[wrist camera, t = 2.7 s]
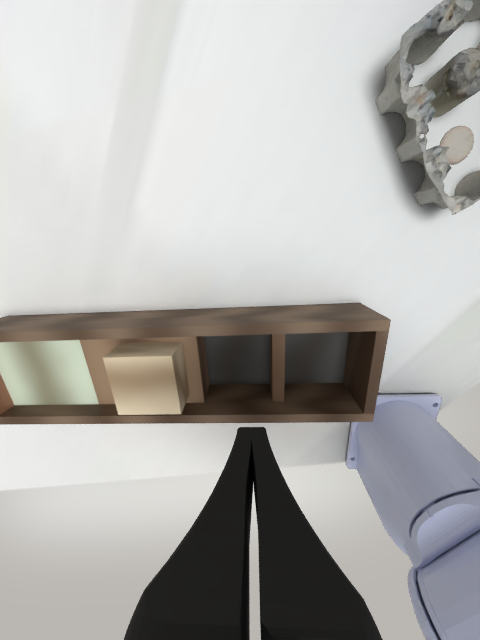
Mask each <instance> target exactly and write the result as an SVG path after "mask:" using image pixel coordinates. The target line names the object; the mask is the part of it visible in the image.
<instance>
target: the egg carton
mask: <svg viewBox="0 0 480 640" xmlns="http://www.w3.org/2000/svg"><path fill="white" fill-rule="evenodd" d="M477 19H480V0H444V1H443V2H441V3H440V4H438V5H437V6H436V7H435V8H434V9H432V10H431V11H430V12H429V13H427V14H426V15H425V16H424V17H423V18H422V19H421V20H420V21H419V22H417V23H416V24H414V25H413V26H411V27H410V28H409V29H408V30H407V31H406V32H405V33H404V34H403V35H402V38H401V47H400V50H399V51H398V52H397V53H396V54H395V56H394V57H393V59H392V60H391V61H390V62H389V64H388V65H387V66H386V67H385V71H386V80H385V86H384V88H383V91H382V92H381V94H380V95H379V96H378V98H377V99H376V100H375V102H376V105H377V108H378V110H379V112H380V114H385V113H388V112H397V113H399V114H401V115H402V116H403V118H404V120H405V123H406V133H405V136H404V139H403V141H402V142H401V144H400V145H399V146H398V147H397V148H396V152H397V155H398V157H399V160H400V161H401V162H405V161H409V160H416V161H418V162H420V163H421V164H422V165H423V167H424V170H425V178H424V182H423V184H422V186H421V187H420V189H419V190H418V191H417V192H416V193H415V198H416V200H417V202H418V204H419V205H420V206H421V205H424V204H427V203H434V204H437V205H438V206H439V207H440V208H443V209H445V208H450V210H451V211H452V215H454V214H456V213H458V212H460V211H461V210H463V209H465V208H467V207H469V206H471V205H473V204H474V203H475V202H477V201H478V200H480V171H477V172H474V173H471V174H469V175H467V176H465V177H464V178H463V179H462V180H461V181H460V182H459V184H458V185H457V187H456V190H455V195H454V196H448V195H447V194H445V193H444V184H443V180H444V178H445V177H446V175H447V173H448V172H449V170H450V169H451V167H450V165H449V164H451V165H454V164H457V163H459V162H461V161H462V160H464V159H465V158H466V157H467V155H468V154H469V153H470V151H471V150H472V147H473V143H474V137H473V133H472V130H470V128H468V127H465V126H456V127H454V128H452V129H450V130H449V131H448V132H447V133H446V134H445V135H444V137H443V138H442V140H441V142H440V146H435V147H433V148H430V149H428V150H426V144H427V139H426V134H427V132H428V131H429V129H428V125H427V123H428V122H430V121H431V119H432V117H435V118H436V117H439V116H442V115H444V114H445V113H447V112H448V111H450V110H451V109H453V108H454V107H456V106H457V105H459V104H460V103H462V102H463V101H465V100H466V99H468V98H469V97H471V96H472V95H474V94H476V93H477V92H478V91H480V43H479V45H478V46H477V48H468V49H466V50H463V51H461V52H459V53H458V54H457V55H456V56H454V57H453V58H452V59H451V60H450V61H449V62H448V63H447V64H446V65H445V66H444V67H443V68H441V69H440V70H439V71H438V72H437V73H436V74H435V75H434V76H433V77H432V78H431V79H430V80H429V81H428V82H427V83H426V85H424V86H422V85H419V86H415V87H408V85H409V82H410V80H411V79H412V77H413V75H412V74H413V72H414V67H413V65H418V64H421V63H423V62H424V61H426V60H427V59H428V58H429V57H430V56H431V55H432V54H433V53H434V52H435V51H436V50H437V48H438V47H439V46H440V45H441V44H442V43H443V42H444V41H445V40H446V39H447V38H448V37H449V36H450V35H451V34H452V33H453V32H454V31H455V30H456V29H458V28H459V27H460V26H461V25H462V24H463V23H464V22H472V21H474V20H477ZM407 63H408V64H407ZM420 134H424V138H423V139H420V138H419V136H420Z"/></svg>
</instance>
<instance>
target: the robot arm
mask: <svg viewBox="0 0 480 640" xmlns="http://www.w3.org/2000/svg"><path fill="white" fill-rule="evenodd" d="M441 401H442V398H441V397H440V396H439V395H437V394H401V395H378V396H377V402H376V407H375V413H374V419H373V422H351V428H350V436H349V443H348V451H347V458H346V465H347V467H348V468H349V469H357V470H358V473H359V475H360V477H361V479H362V481H363V483H364V485H365V487H366V490H367V491H368V494H369V496H370V498H371V500H372V502H373V504H374V507H375V509H376V511H377V513H378V515H379V517H380V519H381V522H382V524H383V526H384V527H385V529H386V531H387V533H388V534H389V536H390V537H391V539H392V540H393V541H394V542H395V543H396V545H397V546H398V547H399V548H400V549H401V550H402V551H403V552H405V554H407V555H408V556H409V558H410V560H411V562H412V564H413V567H412V568H411V569H410V571H409V573H408V587H409V593H410V597H411V601H412V604H413V608H414V611H415V614H416V617H417V620H418V623H419V625H420V628H421V630H422V632H423V635H424V637H425V639H426V640H480V462H479V461H478V460H477V459H476V458H475V457H474V456H473V455H472V454H470V452H468V451H467V450H466V449H465V448H464V447H463V446H462V445H461V444H460V443H459V442H458V441H457V440H456V439H455V438H454V437H453V436H452V435H451V434H450V433H449V432H448V431H447V430H445V429H444V428H443V427H442V426H441V425H440V424H439V423H438V422H437V421H436V419H437V415H438V411H439V408H440V404H441ZM253 482H254V492H255V503H256V513H257V524H258V540H259V580H260V581H259V583H260V623H261V640H382V638H381V635H380V633H379V630H378V628H377V626H376V624H375V622H374V620H373V617H372V615H371V613H370V612H369V609H368V608H367V605H366V603H365V601H364V599H363V598H362V596H361V595H360V594H359V593H358V591H357V590H356V589H355V587H354V586H353V585H352V584H351V582H350V581H349V580H348V578H347V577H346V576H345V574H344V573H343V572H342V570H341V569H340V568H339V566H338V565H337V564H336V562H335V561H334V559H333V558H332V557H331V555H330V554H329V552H328V551H327V550H326V548H325V547H324V545H323V544H322V542H321V541H320V539H319V538H318V536H317V535H316V533H315V532H314V530H313V529H312V527H311V526H310V524H309V522H308V521H307V519H306V518H305V516H304V514H303V513H302V511H301V509H300V507H299V506H298V504H297V502H296V500H295V499H294V497H293V495H292V493H291V491H290V489H289V488H288V486H287V484H286V482H285V479H284V477H283V476H282V473H281V471H280V469H279V467H278V464H277V462H276V460H275V457H274V455H273V452H272V449H271V446H270V444H269V440H268V437H267V433H266V429H265V428H264V427H240V428H238V430H237V435H236V439H235V442H234V445H233V448H232V450H231V453H230V455H229V458H228V460H227V463H226V465H225V468H224V470H223V472H222V474H221V476H220V478H219V480H218V482H217V484H216V486H215V488H214V490H213V492H212V494H211V496H210V497H209V499H208V501H207V503H206V505H205V506H204V508H203V510H202V511H201V513H200V514H199V516H198V518H197V519H196V521H195V522H194V524H193V525H192V527H191V529H190V530H189V532H188V533H187V534H186V536H185V537H184V539H183V540H182V541H181V543H180V544H179V546H178V547H177V548H176V550H175V551H174V553H173V554H172V555H171V557H170V558H169V560H168V561H167V562H166V563H165V565H164V566H163V567H162V568H161V570H160V571H159V572H158V574H157V575H156V576H155V577H154V578H153V580H152V581H151V582H150V583H149V585H148V586H147V587H146V589H145V590H144V592H143V594H142V596H141V598H140V600H139V602H138V604H137V607H136V609H135V611H134V614H133V616H132V618H131V621H130V624H129V626H128V629H127V631H126V634H125V638H124V640H249V540H250V524H251V508H252V493H253Z"/></svg>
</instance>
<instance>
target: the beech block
mask: <svg viewBox="0 0 480 640" xmlns="http://www.w3.org/2000/svg"><path fill="white" fill-rule="evenodd" d="M103 361H104V365H105V368H106V372H107V375H108V379H109V383H110V386H111V390H112V393H113V397H114V401H115V404H116V408H117V411H118V415H155V414H182V411H183V409H184V406H185V404H186V401H187V399H188V396H189V394H190V393H189V386H188V379H187V372H186V365H185V358H184V352H183V345H182V341H174V342H139V343H121V344H120V345H118V346H117V347H116V348H115V349H113V350H112V351H111V352H109V353H108V354H107V355H106V356H104V357H103Z"/></svg>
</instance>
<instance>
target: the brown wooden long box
mask: <svg viewBox="0 0 480 640" xmlns="http://www.w3.org/2000/svg"><path fill="white" fill-rule="evenodd" d="M390 321H391V320H390V319H388V318H387V317H385V316H383V315H381V314H379V313H377V312H376V311H374V310H372V309H370V308H368V307H366V306H365V305H363V304H361V303H346V304H319V305H292V306H265V307H238V308H211V309H184V310H157V311H130V312H103V313H76V314H49V315H22V316H6V317H3V318H0V424H131V423H285V422H373V419H374V413H375V407H376V402H377V396H378V390H379V384H380V378H381V373H382V367H383V361H384V355H385V350H386V344H387V338H388V332H389V327H390ZM174 341H182V345H183V352H184V358H185V365H186V372H187V379H188V386H189V393H190V394H189V396H188V399H187V401H186V404H185V406H184V409H183V411H182V414H155V415H118V411H117V408H116V404H115V401H114V397H113V393H112V390H111V386H110V383H109V379H108V375H107V372H106V368H105V365H104V361H103V357H104V356H106V355H107V354H108V353H109V352H111V351H112V350H113V349H115V348H116V347H117V346H118V345H120V344H121V343H139V342H174Z"/></svg>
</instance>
